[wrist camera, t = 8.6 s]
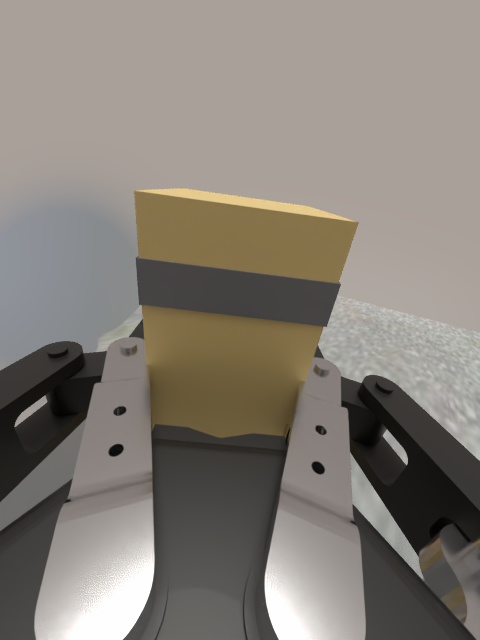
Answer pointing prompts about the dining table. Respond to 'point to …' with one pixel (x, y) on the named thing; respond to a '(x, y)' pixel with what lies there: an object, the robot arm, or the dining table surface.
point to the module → (233, 304)
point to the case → (43, 479)
